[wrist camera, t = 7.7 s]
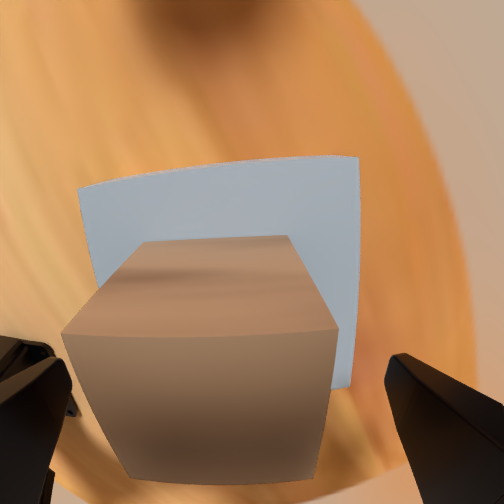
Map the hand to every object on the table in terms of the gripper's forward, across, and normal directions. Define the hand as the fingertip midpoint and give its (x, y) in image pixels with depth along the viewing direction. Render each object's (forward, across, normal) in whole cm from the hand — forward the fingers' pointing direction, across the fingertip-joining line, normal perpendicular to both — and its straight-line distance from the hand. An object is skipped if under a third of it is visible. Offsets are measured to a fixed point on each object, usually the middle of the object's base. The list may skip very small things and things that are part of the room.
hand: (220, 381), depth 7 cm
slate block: (+8, 0, 0) cm, 8 cm away
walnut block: (+4, 0, 0) cm, 4 cm away
